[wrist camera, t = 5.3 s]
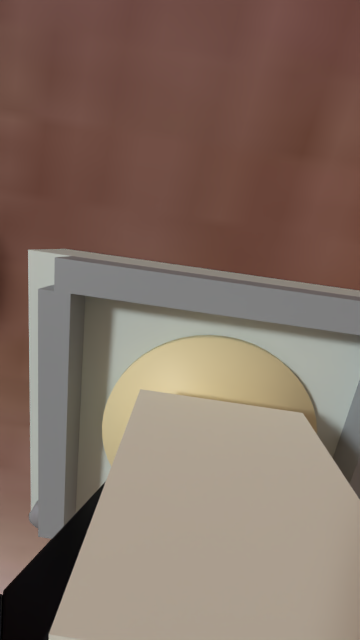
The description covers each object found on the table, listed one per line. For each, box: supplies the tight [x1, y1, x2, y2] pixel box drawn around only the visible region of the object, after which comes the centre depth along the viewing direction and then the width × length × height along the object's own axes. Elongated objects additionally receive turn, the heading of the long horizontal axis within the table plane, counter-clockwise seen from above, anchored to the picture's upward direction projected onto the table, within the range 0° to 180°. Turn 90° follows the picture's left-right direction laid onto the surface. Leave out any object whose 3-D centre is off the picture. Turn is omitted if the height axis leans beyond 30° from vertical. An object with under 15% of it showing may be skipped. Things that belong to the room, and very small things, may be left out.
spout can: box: [49, 389, 360, 640], centre depth 6 cm, size 8×5×6 cm, turn 172°
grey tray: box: [28, 249, 360, 539], centre depth 11 cm, size 12×14×4 cm
